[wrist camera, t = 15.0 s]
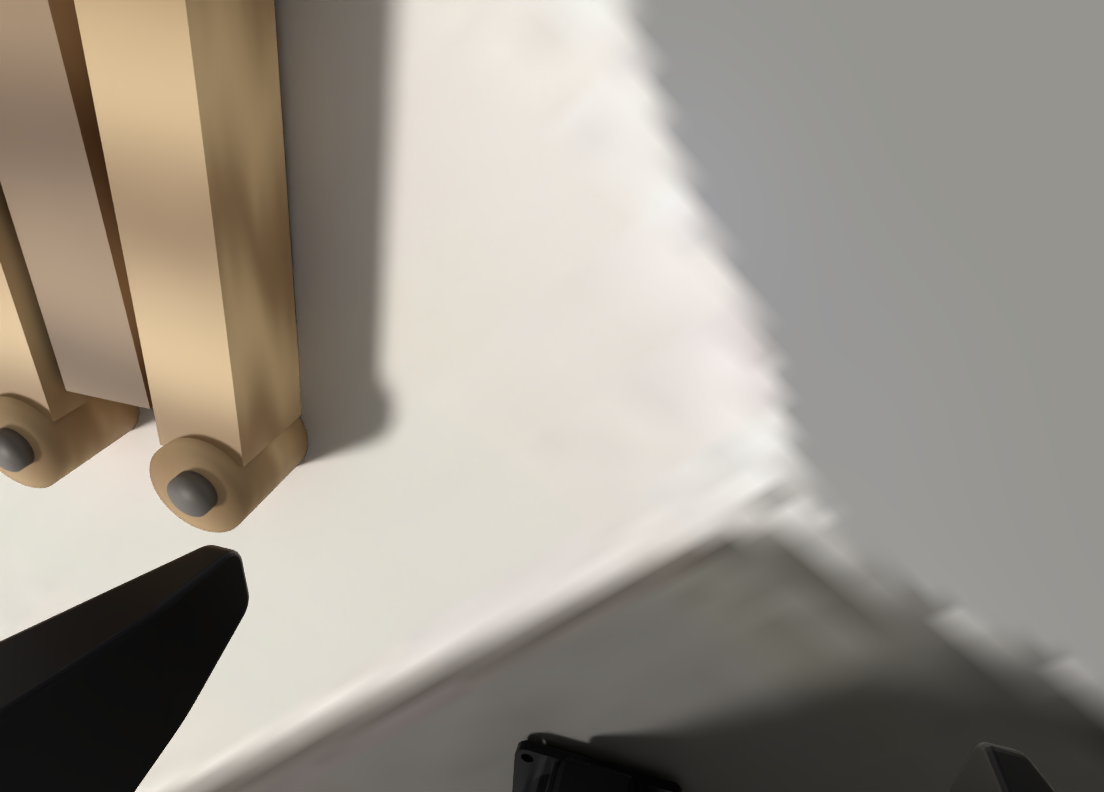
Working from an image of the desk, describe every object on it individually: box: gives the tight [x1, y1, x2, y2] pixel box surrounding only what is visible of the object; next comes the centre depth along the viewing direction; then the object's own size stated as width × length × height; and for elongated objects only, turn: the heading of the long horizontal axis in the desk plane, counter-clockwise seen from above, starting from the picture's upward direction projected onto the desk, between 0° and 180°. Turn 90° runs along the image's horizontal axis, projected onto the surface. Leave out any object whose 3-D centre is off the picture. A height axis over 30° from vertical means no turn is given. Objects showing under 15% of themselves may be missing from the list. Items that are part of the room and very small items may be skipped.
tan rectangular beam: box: [0, 0, 153, 488], centre depth 19 cm, size 21×11×4 cm, turn 176°
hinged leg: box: [74, 0, 308, 532], centre depth 19 cm, size 18×3×4 cm, turn 173°
